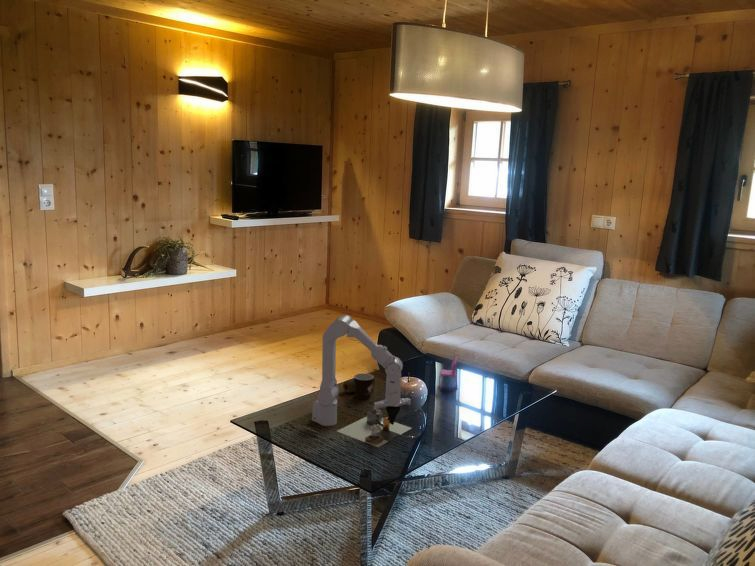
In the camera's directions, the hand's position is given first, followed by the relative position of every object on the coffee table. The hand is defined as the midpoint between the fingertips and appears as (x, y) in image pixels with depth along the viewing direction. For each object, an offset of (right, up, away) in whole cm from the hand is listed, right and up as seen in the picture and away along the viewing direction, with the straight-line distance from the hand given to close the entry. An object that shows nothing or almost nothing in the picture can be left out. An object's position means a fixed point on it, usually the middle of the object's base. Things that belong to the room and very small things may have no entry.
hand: (391, 423), depth 236 cm
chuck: (-7, -1, +7) cm, 10 cm away
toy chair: (+28, +5, +52) cm, 59 cm away
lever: (-3, -2, +1) cm, 4 cm away
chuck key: (-7, -4, -9) cm, 12 cm away
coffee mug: (-11, +3, +34) cm, 36 cm away
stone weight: (-14, +5, +43) cm, 45 cm away
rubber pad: (-2, -3, -4) cm, 6 cm away
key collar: (-7, -4, -9) cm, 12 cm away
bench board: (-7, -3, 0) cm, 7 cm away
